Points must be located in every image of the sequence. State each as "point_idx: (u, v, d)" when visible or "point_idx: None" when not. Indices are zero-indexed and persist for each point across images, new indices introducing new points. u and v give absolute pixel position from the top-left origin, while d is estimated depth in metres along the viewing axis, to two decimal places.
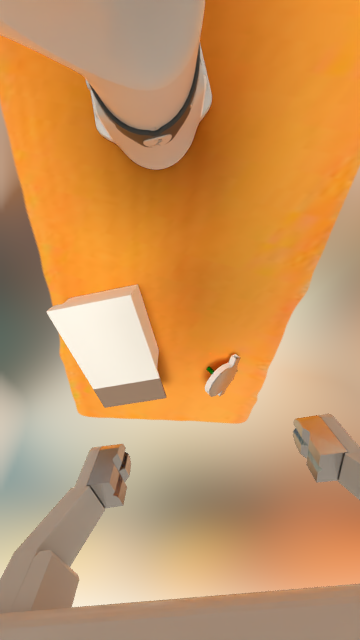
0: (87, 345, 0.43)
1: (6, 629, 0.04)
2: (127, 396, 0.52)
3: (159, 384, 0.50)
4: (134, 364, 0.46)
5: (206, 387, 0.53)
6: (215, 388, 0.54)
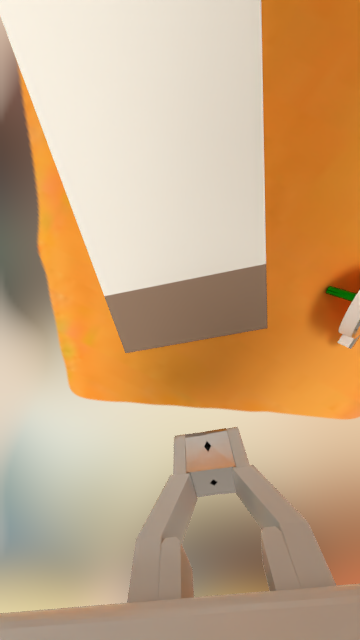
0: (98, 128, 0.16)
1: (6, 629, 0.04)
2: (180, 319, 0.23)
3: (261, 284, 0.21)
4: (214, 211, 0.18)
5: (353, 308, 0.24)
6: None
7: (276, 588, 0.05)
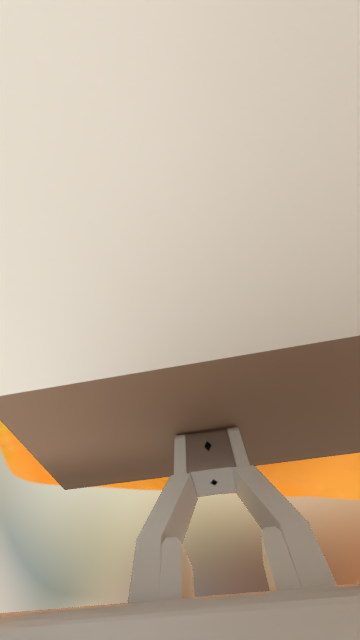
0: None
1: (6, 629, 0.04)
2: None
3: None
4: (323, 139, 0.04)
5: None
6: None
7: (277, 588, 0.05)
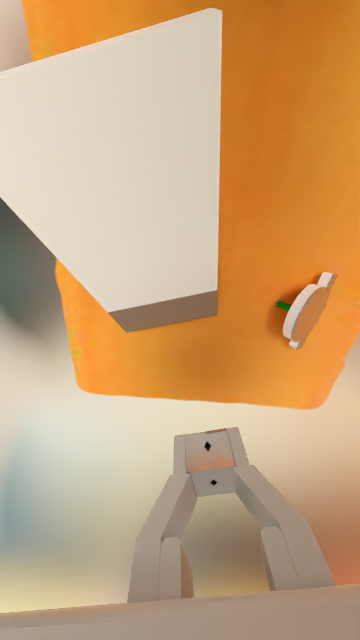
0: (85, 233, 0.19)
1: (6, 629, 0.04)
2: (160, 316, 0.34)
3: (214, 298, 0.31)
4: (181, 269, 0.25)
5: (288, 319, 0.33)
6: (301, 323, 0.33)
7: (276, 588, 0.05)
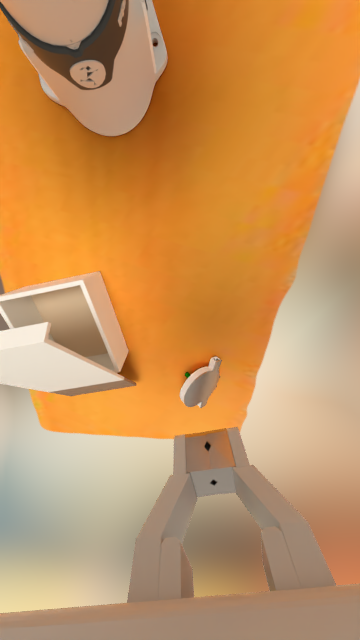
0: (13, 377, 0.31)
1: (6, 629, 0.04)
2: (91, 389, 0.47)
3: (125, 381, 0.44)
4: (89, 378, 0.38)
5: (181, 395, 0.45)
6: (192, 396, 0.46)
7: (276, 588, 0.05)
